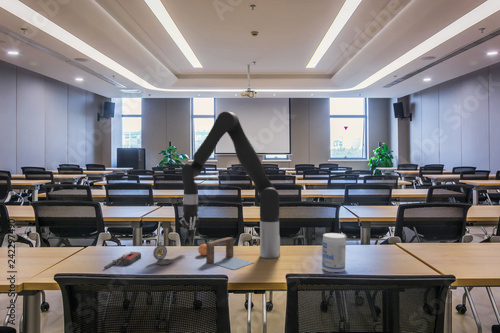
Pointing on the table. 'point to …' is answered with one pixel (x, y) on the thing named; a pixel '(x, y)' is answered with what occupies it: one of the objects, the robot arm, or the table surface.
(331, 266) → the supplement tub
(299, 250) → the table surface
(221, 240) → the bridge
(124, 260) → the walkie-talkie
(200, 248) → the ball
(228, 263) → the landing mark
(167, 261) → the pocket watch
